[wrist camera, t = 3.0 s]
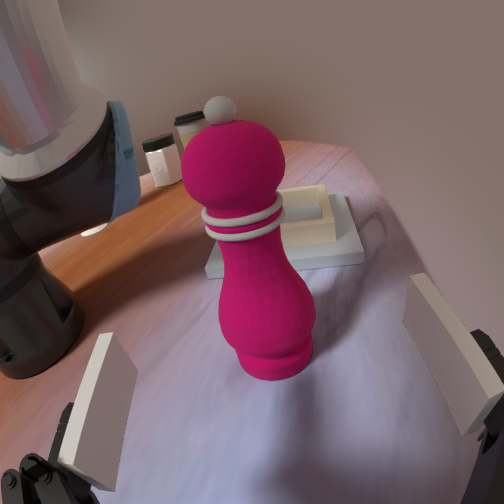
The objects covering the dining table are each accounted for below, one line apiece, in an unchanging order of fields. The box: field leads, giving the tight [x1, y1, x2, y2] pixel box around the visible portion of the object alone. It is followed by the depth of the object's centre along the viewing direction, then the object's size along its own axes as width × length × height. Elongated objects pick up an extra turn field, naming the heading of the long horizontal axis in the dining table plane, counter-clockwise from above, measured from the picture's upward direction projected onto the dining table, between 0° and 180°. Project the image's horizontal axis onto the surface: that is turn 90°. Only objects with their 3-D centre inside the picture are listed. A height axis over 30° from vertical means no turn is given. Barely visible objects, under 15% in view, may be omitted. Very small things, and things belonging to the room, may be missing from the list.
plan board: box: [205, 184, 364, 279], centre depth 42 cm, size 18×18×4 cm
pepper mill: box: [181, 96, 316, 381], centre depth 21 cm, size 7×7×20 cm
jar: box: [142, 133, 182, 188], centre depth 77 cm, size 9×8×12 cm
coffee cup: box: [174, 111, 207, 148], centre depth 86 cm, size 9×9×15 cm
